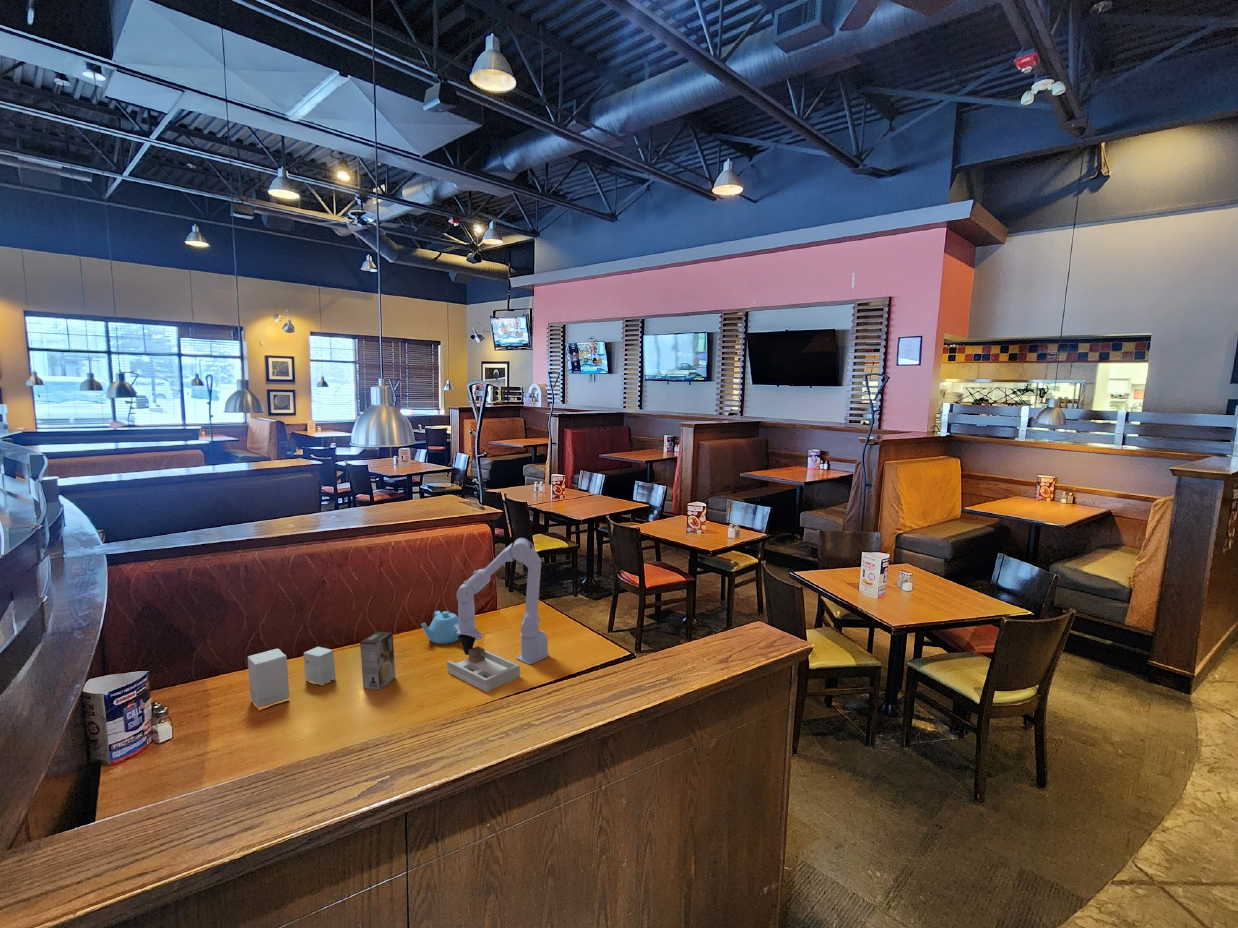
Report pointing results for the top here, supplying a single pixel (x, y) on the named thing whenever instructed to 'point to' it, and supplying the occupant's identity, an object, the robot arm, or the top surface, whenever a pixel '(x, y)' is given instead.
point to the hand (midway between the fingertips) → (468, 653)
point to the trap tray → (485, 671)
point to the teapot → (442, 628)
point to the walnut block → (476, 654)
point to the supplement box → (268, 677)
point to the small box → (319, 665)
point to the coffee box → (377, 660)
